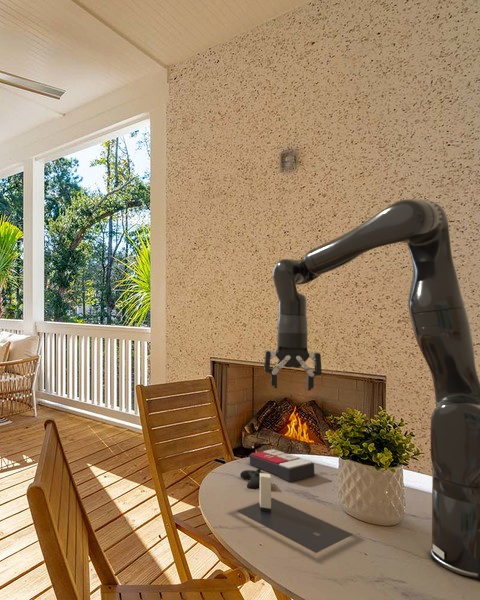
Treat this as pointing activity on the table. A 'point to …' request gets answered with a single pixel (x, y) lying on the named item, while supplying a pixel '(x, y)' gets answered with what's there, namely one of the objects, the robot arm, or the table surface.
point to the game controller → (252, 478)
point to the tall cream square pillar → (265, 492)
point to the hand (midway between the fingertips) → (291, 388)
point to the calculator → (282, 464)
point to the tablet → (296, 525)
